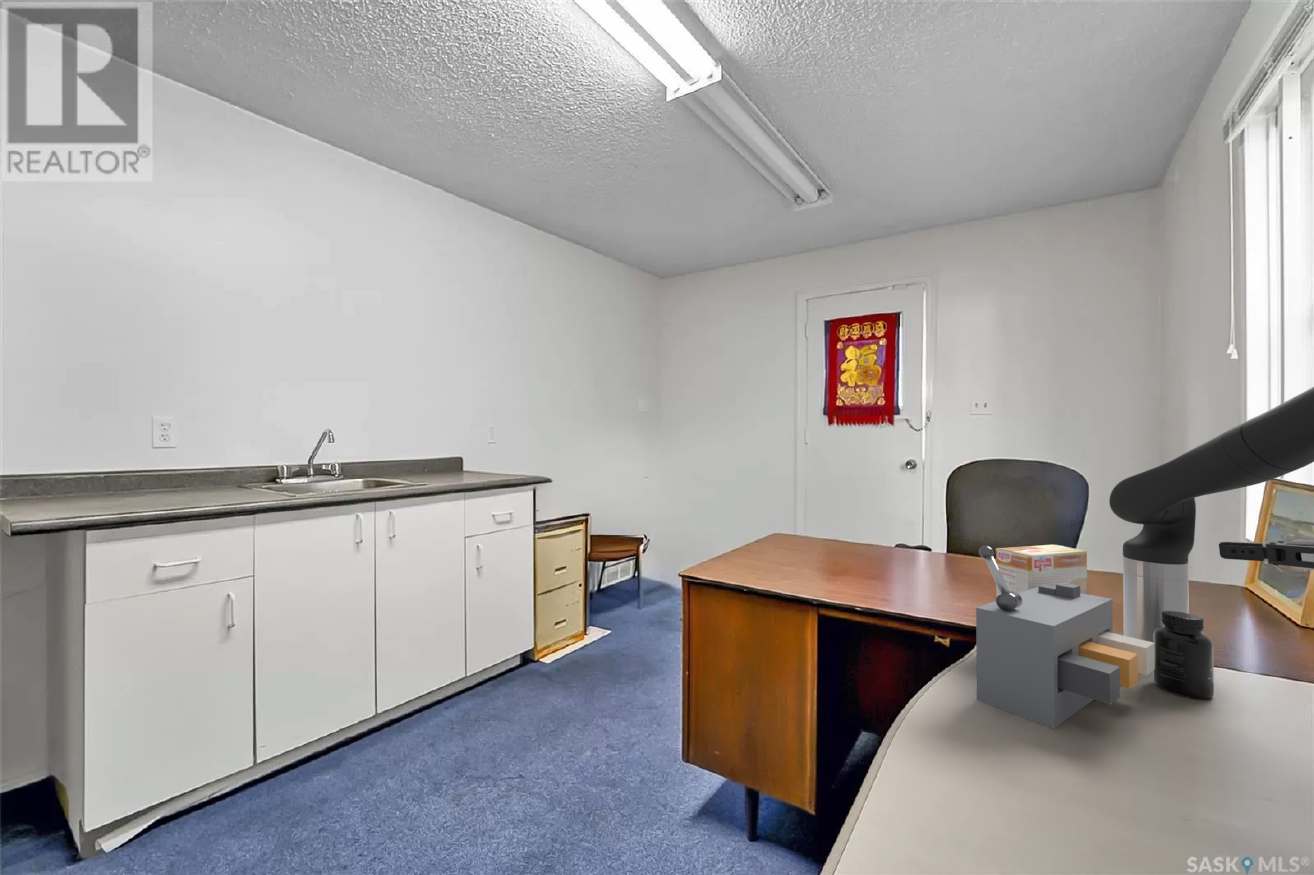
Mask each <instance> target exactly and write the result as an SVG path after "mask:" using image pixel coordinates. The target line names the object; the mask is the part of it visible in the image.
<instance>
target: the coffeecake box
mask: <svg viewBox="0 0 1314 875" xmlns="http://www.w3.org/2000/svg"><path fill="white" fill-rule="evenodd" d="M1087 553H1088V550H1085V549H1080V548H1073V547H1069V546H1065V545H1059V544H1043V545H1031V546H1029V545H1028V546H1016V547H1015V546H1013V547H997V548H995V562H996V564H997V566H998V568H999V571H1000V573H1001V575H1002V577H1003V579H1004V581H1005V583H1006V585H1007V587H1008V590H1009V592H1010V591H1013V592H1016V593H1020V592H1023V591H1026V590H1029V589H1032V588H1035V587H1038V586H1041V585H1044V584H1049V585H1055V586H1056V585H1057V584H1059V583H1062V582H1064V583H1070V584H1075V585H1080V593H1083V594H1088V558H1087V556H1088V554H1087ZM995 584H996V583H995ZM995 589H996V593H995V594H996V595H995V596H996V598H997V596H998V595H1000V594H1001V593H1000V591H999V589H998V587H997V584H996V587H995ZM996 598H995V599H996Z"/></svg>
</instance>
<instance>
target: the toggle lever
mask: <svg viewBox="0 0 1314 875" xmlns="http://www.w3.org/2000/svg"><path fill="white" fill-rule="evenodd" d="M978 555H979V556H980V557H981V558H983V559H984V560H985V563H986V564H987V567H988V569H989V572H990V574H991V575H992V576H991V577H993V580H994V582H995V584H997V587H998V589H999V591H1000V593H1001V594H1000V595H998V596H997V598H995V601H996V604H997V606H998V607H999V608H1000V609H1002V610H1005V611H1009V610H1012V609H1014V608H1017V607H1019V606H1021V604H1022V598H1021V596H1020V595H1019V594H1018V593H1016V592H1013V591H1010V592H1009V590H1008V587H1007V585H1006V583H1005V581H1004V579H1003V577H1002V575H1001V573H1000V571H999V568H998V566H997V564H996V559H995V558H994V555H995V552H994V550H993V548H992V547H991V546H989V545H982V546H981V547H980V548H978Z"/></svg>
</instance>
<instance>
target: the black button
mask: <svg viewBox="0 0 1314 875" xmlns="http://www.w3.org/2000/svg"><path fill="white" fill-rule="evenodd" d="M1058 688H1060V689H1063V690H1066V691H1069V692H1073V693H1076V694H1079V695H1082V696H1085V697H1088V698H1091V699H1094V700H1093V701H1097V702H1101V703H1104V704H1108V705H1111V704H1112V703H1114V702H1115V701H1117V700H1118V699H1119V698H1121V686H1120V667H1119V666H1115V665H1111V664H1108V663H1104V662H1100V661H1097V660H1093V659H1089V658H1086V657H1082V656H1078V655H1074V654H1071V653H1067V652H1064V653H1063V654H1061V655H1059V656H1058Z"/></svg>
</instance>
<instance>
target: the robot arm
mask: <svg viewBox="0 0 1314 875" xmlns="http://www.w3.org/2000/svg"><path fill="white" fill-rule="evenodd" d="M1312 463H1314V386H1312V387H1310V388H1308V389H1307V390H1305V391H1303V392H1301V393H1299V394H1297V395H1295V396H1294V397H1292V398H1290V399H1287V400H1285V401H1284V402H1281V403H1279V405H1277V406H1275V407H1273V408H1271V409H1269V410H1268V411H1265V412H1263V413H1261V414H1259V415H1257V416H1254V417H1252V418H1250V419H1248V420H1246V421H1244V422H1241V423H1239V424H1238V425H1236V426H1233V427H1232V428H1231V429H1228V430H1226V431H1224V432H1223V433H1221V434H1219V435H1217V436H1215V437H1213V438H1212V439H1210V440H1208V441H1206V442H1204V443H1202V444H1199V445H1198V446H1196V447H1194V448H1192V449H1190V450H1188V451H1186V452H1184V453H1182V454H1181V455H1179V456H1177V457H1175V458H1173V459H1171V460H1170V461H1167V462H1165V463H1163V464H1160V465H1159V466H1156V467H1153V468H1150V469H1148V470H1145V471H1142V472H1140V473H1137V474H1134V475H1132V476H1128V477H1126V478H1124V479H1123V480H1121V481H1119V482H1118V483H1117V484H1116V485H1115V486H1114V487H1113V489H1112V490H1111V492H1110V495H1109V499H1108V500H1109V507H1110V510H1111V511H1112V513H1113V514H1115V516H1117V517H1118V518H1119V519H1121V520H1123V521H1125V522H1128V523H1132V524H1137V525H1142V530H1140V532H1139V533H1138V534H1137V535H1135V536H1134V537H1132V538H1130V539H1127V540H1126V541H1124V542H1123V545H1122V577H1123V578H1122V579H1123V580H1122V583H1123V584H1122V589H1123V590H1122V592H1123V593H1122V594H1123V595H1122V596H1123V599H1122V600H1123V613H1122V614H1123V625H1122V627H1123V636H1127V637H1132V638H1136V639H1140V640H1145V641H1149V642H1153V643H1154V639H1153V634H1154V631H1155V630H1156V629H1157V628H1159V627H1163V624H1162V623H1161V619H1162V612H1163V611H1176V612H1183V613H1188V614H1190V604H1189V602H1190V593H1189V591H1190V590H1189V583H1190V582H1189V581H1190V580H1189V555H1190V553H1191V551H1192V549H1194V544H1195V535H1196V532H1195V530H1196V515H1197V504H1196V498H1198V497H1199V498H1200V497H1202V496H1207V495H1211V494H1217V493H1223V492H1227V491H1233V490H1238V489H1242V488H1246V487H1250V486H1251V487H1252V486H1255V485H1259V484H1263V483H1265V482H1268V481H1271V480H1275V479H1278V478H1279V477H1282V476H1284V475H1287V474H1289V473H1292V472H1294V471H1295V472H1296V471H1298V470H1299V469H1302V468H1304V467H1306V466H1309V465H1311V464H1312ZM1218 549H1219V556H1220V557H1221V558H1222V559H1225V560H1236V561H1237V560H1238V561H1253V562H1263V563H1266V564H1268V565H1272V566H1285V567H1291V568H1292V569H1296V570H1306V571H1307V570H1308V571H1309V570H1310V571H1314V539H1293V540H1289V541H1287V542H1286V541H1283V540H1278V541H1271V540H1270V541H1269V540H1268V541H1264V542H1249V541H1247V542H1245V541H1244V542H1243V541H1221V542H1219V544H1218Z"/></svg>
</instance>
